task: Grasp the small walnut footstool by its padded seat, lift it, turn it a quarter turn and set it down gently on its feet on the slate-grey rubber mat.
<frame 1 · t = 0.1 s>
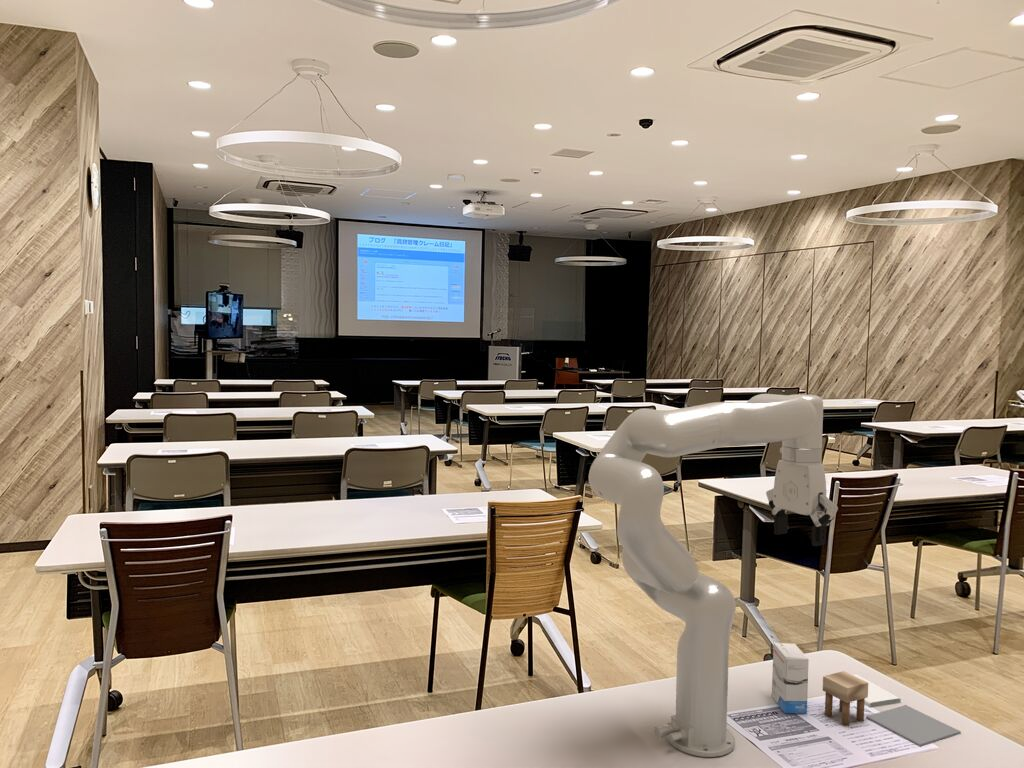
hand: (799, 539, 153), 37 cm above the table, tool pointing down, fingers open, 9 cm apart
ink box: (788, 705, 160), on the table
mat: (912, 725, 151), on the table
external hard drive: (863, 695, 166), on the table
stool: (844, 717, 154), on the table
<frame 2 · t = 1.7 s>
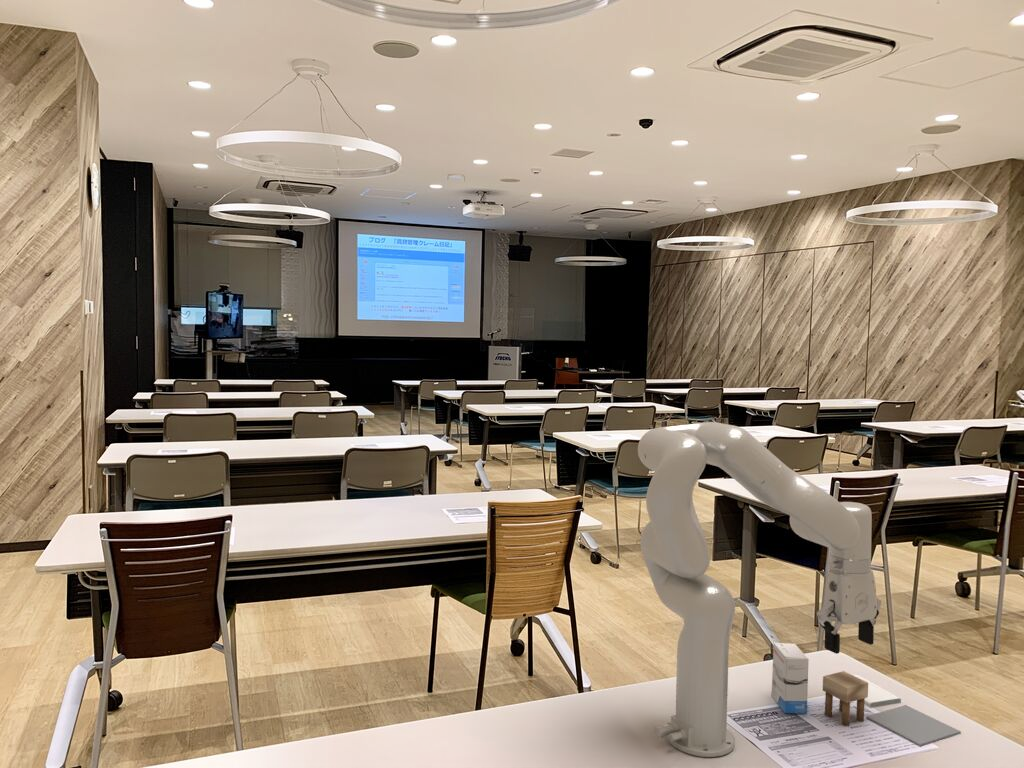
hand: (849, 646, 154), 15 cm above the table, tool pointing down, fingers open, 9 cm apart
nothing on the table moved.
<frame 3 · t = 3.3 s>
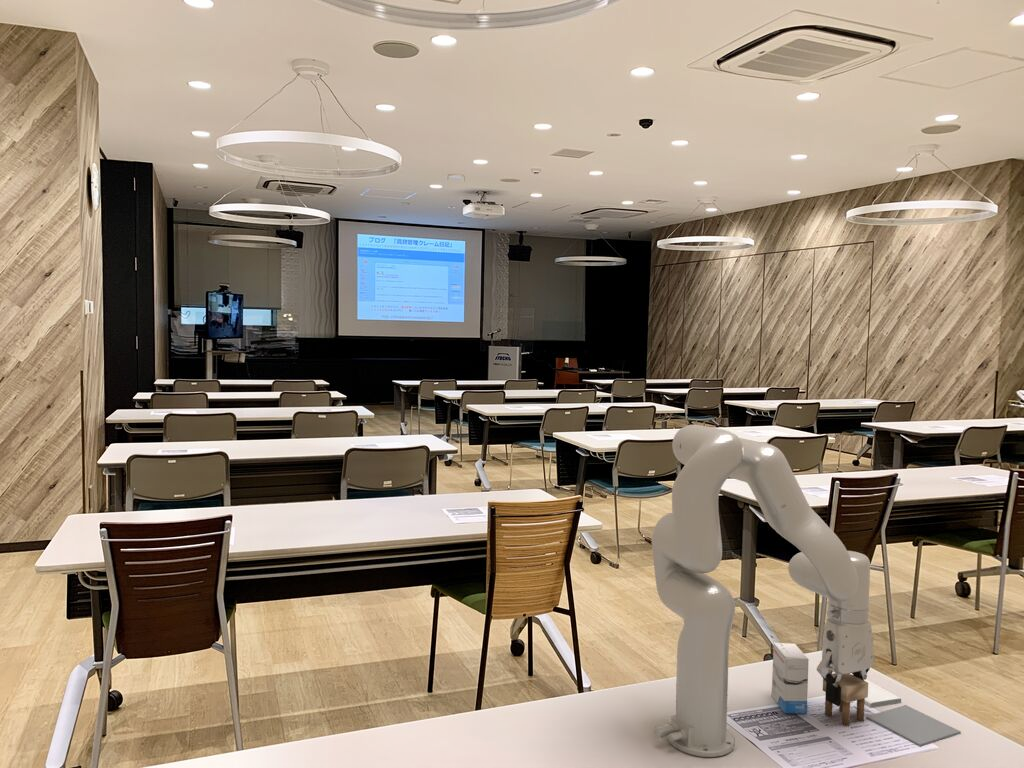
hand: (844, 699, 154), 4 cm above the table, tool pointing down, fingers closed on stool, 6 cm apart
stool: (844, 717, 154), on the table, touching gripper
everything else where it was.
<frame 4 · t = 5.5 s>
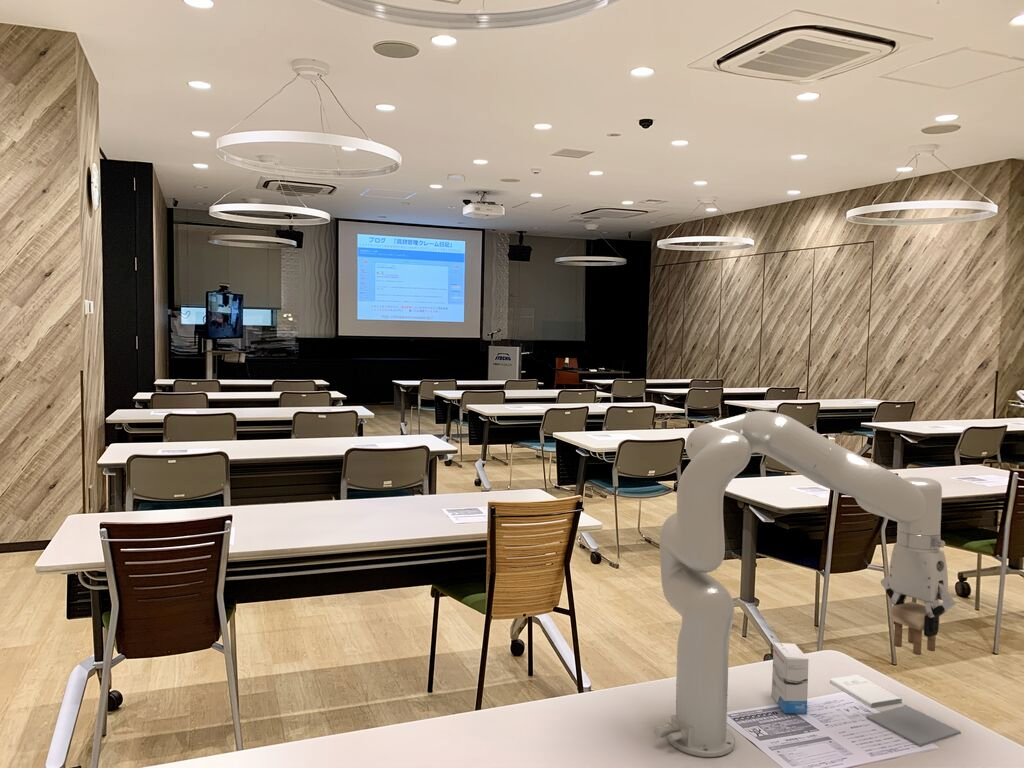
hand: (915, 628, 150), 20 cm above the table, tool pointing down, fingers closed on stool, 6 cm apart
stool: (914, 647, 151), point 16 cm above the table, touching gripper
everything else where it was.
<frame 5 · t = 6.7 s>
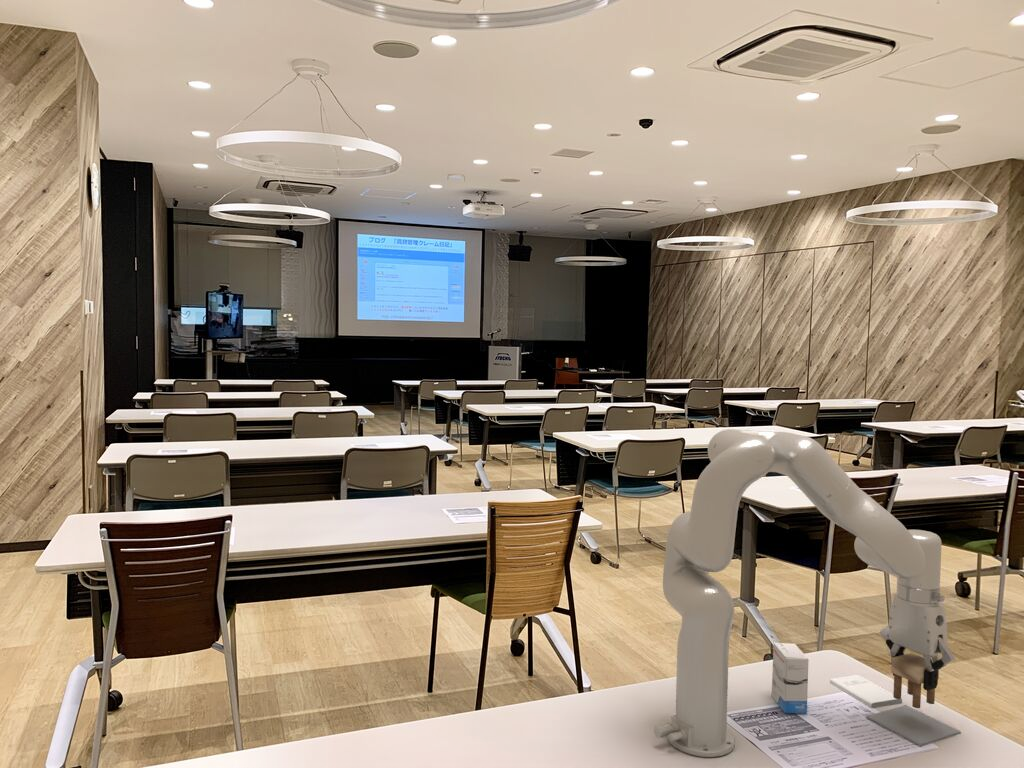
hand: (914, 681, 151), 9 cm above the table, tool pointing down, fingers closed on stool, 6 cm apart
stool: (913, 699, 151), point 5 cm above the table, touching gripper
everything else where it was.
when the fingers open (5 cm above the table, at t = 7.9 s): stool stays where it is, resting on mat.
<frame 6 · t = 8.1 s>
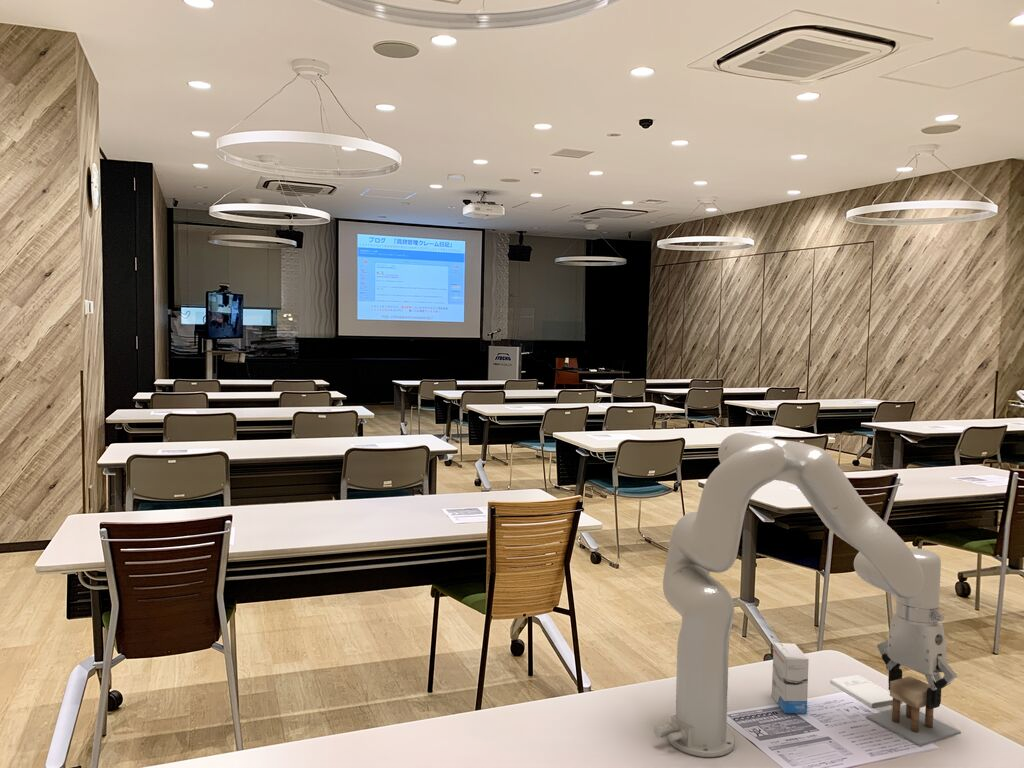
hand: (913, 697, 151), 6 cm above the table, tool pointing down, fingers open, 7 cm apart
stool: (912, 723, 151), resting on mat
everything else where it was.
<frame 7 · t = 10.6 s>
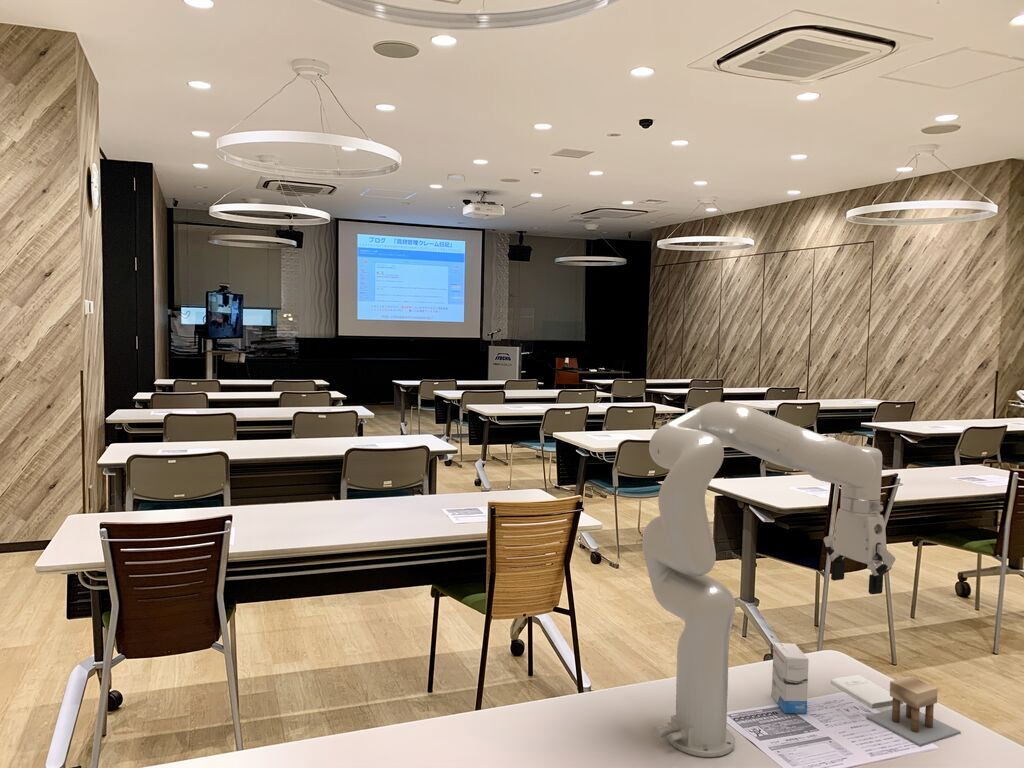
hand: (855, 586, 158), 26 cm above the table, tool pointing down, fingers open, 9 cm apart
nothing on the table moved.
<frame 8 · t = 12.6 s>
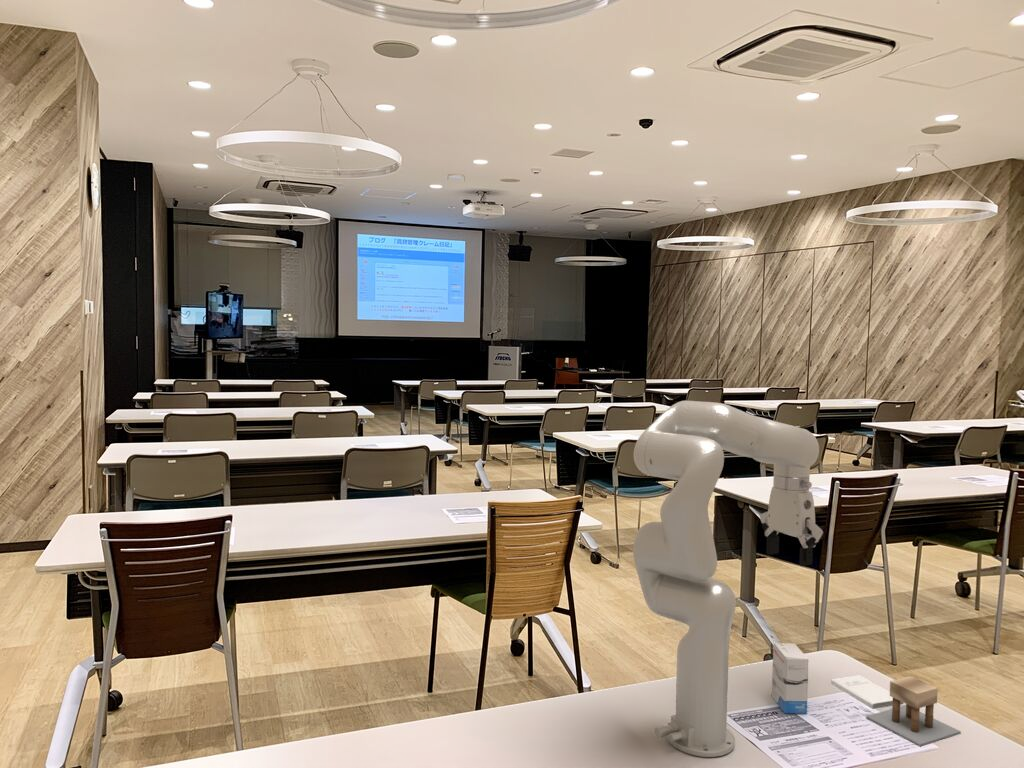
hand: (788, 559, 168), 28 cm above the table, tool pointing down, fingers open, 9 cm apart
nothing on the table moved.
at the end: stool inside the target area on the mat (0.1 cm from its centre), point 0.4 cm above the mat's base; stool tilted 0°; the gripper is holding nothing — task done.
